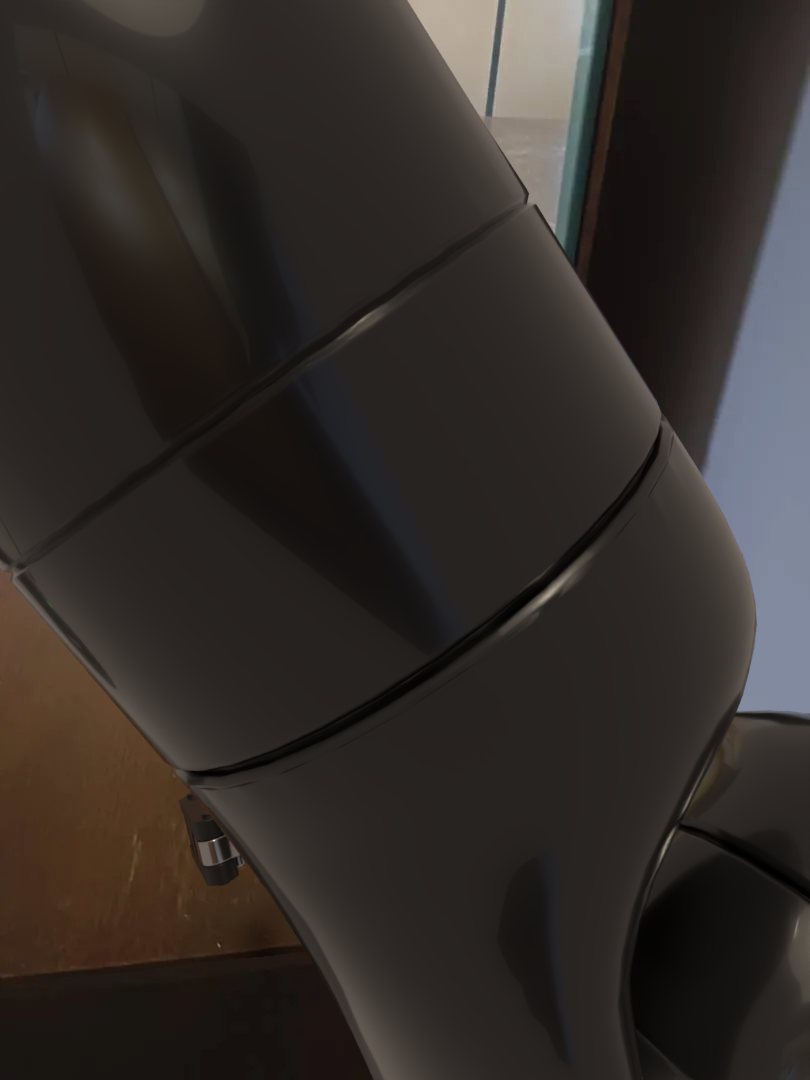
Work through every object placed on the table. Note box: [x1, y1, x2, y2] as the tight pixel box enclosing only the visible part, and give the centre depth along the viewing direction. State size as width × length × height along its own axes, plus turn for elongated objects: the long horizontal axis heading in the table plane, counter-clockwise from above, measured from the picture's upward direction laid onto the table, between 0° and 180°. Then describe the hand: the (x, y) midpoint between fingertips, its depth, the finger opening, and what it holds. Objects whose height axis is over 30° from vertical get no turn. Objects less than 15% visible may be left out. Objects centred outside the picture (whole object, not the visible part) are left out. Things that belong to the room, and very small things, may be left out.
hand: (322, 762), depth 44 cm, fingers open, 8 cm apart
